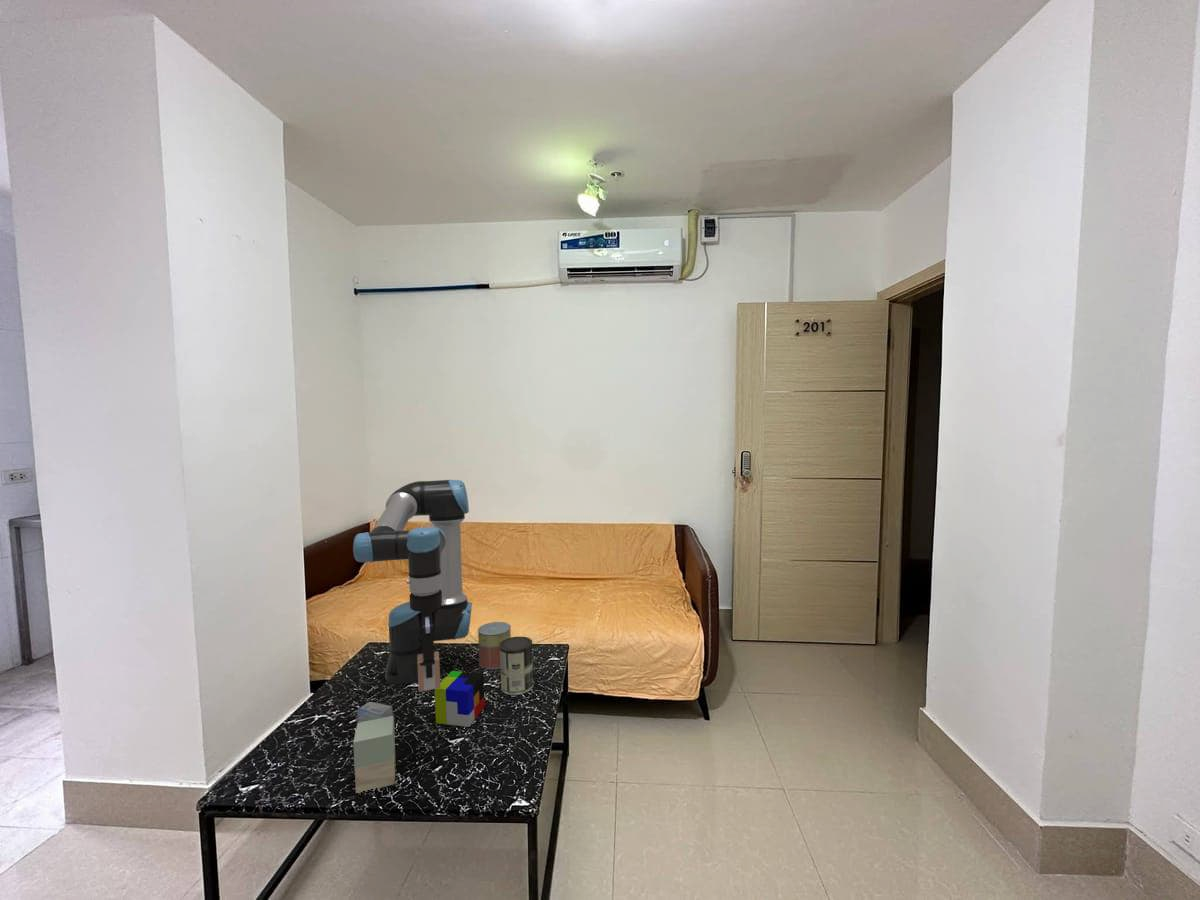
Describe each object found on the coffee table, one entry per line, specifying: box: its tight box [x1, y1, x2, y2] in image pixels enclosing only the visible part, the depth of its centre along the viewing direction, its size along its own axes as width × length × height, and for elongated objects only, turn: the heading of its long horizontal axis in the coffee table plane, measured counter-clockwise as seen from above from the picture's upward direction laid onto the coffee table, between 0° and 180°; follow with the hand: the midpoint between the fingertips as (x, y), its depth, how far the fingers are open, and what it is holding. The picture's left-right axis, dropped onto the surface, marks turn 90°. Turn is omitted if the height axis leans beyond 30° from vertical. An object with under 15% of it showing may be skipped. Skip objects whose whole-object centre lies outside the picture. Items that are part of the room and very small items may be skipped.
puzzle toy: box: [434, 670, 486, 728], centre depth 141 cm, size 10×10×10 cm
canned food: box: [477, 621, 512, 670], centre depth 173 cm, size 11×11×12 cm
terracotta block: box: [417, 650, 441, 693], centre depth 122 cm, size 5×5×7 cm
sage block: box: [353, 715, 396, 770], centre depth 116 cm, size 8×8×6 cm
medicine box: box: [356, 701, 394, 723], centre depth 130 cm, size 8×4×9 cm, turn 71°
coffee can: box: [499, 636, 535, 696], centre depth 156 cm, size 10×10×14 cm
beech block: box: [354, 742, 396, 794], centre depth 116 cm, size 8×8×6 cm
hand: (429, 683), depth 122 cm, fingers closed on terracotta block, 5 cm apart
